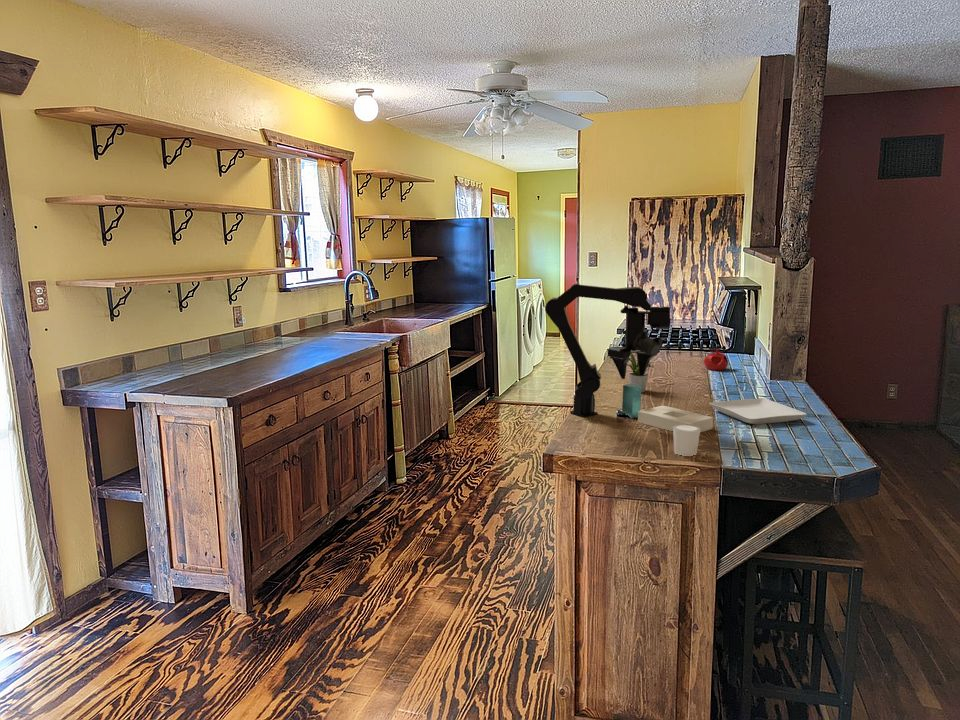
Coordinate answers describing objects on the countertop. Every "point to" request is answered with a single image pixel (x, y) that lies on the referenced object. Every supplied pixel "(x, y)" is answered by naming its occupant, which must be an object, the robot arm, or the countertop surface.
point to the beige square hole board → (673, 418)
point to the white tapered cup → (686, 439)
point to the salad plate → (758, 411)
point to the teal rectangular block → (631, 400)
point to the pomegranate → (716, 361)
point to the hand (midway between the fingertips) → (632, 377)
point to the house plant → (637, 374)
